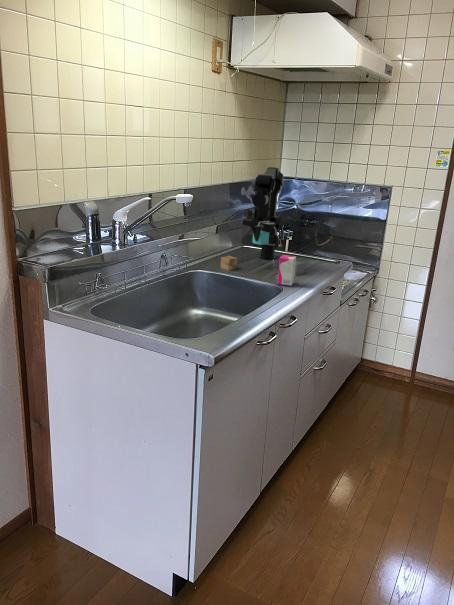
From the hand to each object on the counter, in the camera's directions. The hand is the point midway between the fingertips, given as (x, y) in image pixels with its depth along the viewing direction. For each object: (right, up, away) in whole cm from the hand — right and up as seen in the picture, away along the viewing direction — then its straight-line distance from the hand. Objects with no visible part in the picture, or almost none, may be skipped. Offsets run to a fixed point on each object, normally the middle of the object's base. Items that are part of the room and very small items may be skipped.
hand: (260, 240), depth 218 cm
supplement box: (+9, -20, -17) cm, 28 cm away
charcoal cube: (+15, -15, +1) cm, 21 cm away
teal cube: (0, -1, 0) cm, 1 cm away
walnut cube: (-14, -12, +2) cm, 19 cm away
